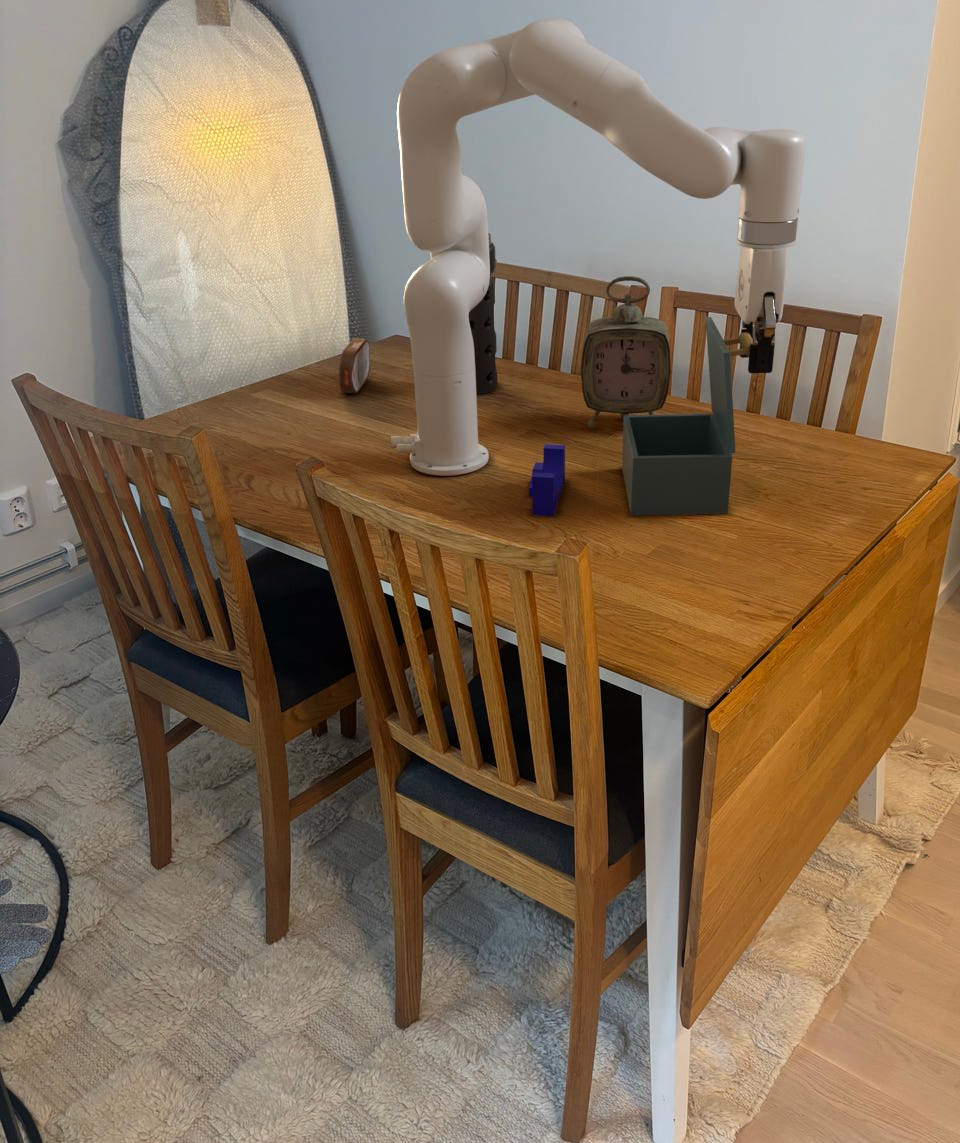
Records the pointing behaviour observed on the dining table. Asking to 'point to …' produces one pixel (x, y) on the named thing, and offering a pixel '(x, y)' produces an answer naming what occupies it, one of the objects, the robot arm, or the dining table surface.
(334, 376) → the dining table surface
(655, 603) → the dining table surface
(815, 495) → the dining table surface
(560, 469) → the blue stepped block
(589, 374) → the tabletop clock
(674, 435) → the chest
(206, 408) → the dining table surface
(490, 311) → the muzzle brake
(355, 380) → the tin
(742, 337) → the lid
